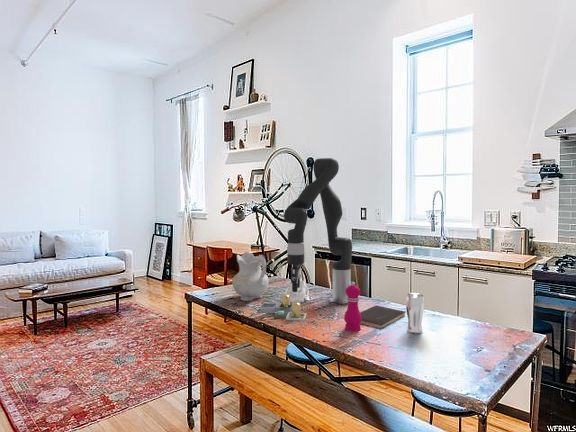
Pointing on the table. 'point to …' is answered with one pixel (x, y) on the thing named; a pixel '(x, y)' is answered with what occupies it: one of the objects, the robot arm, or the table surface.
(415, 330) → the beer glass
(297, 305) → the billet
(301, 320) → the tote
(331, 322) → the table surface
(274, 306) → the tray
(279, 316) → the console
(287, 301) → the billet
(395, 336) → the table surface
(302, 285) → the skull bowl
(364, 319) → the hardcover book
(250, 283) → the ceramic pitcher
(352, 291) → the pepper mill
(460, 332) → the table surface
